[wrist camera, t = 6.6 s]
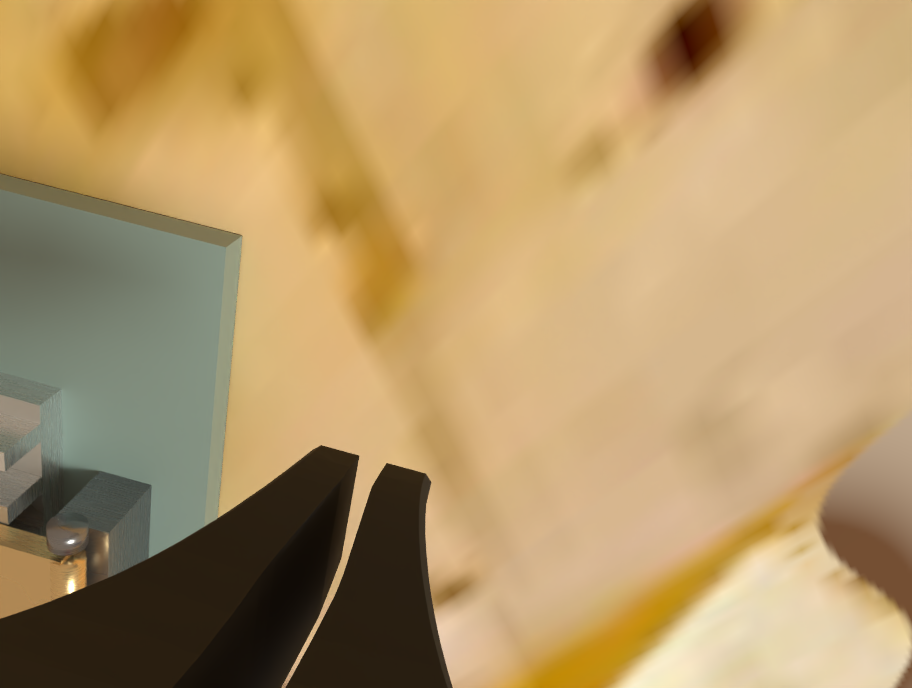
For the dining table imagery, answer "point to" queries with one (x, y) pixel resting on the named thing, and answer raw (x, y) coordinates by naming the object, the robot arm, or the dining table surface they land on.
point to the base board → (124, 341)
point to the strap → (35, 571)
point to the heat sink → (42, 492)
